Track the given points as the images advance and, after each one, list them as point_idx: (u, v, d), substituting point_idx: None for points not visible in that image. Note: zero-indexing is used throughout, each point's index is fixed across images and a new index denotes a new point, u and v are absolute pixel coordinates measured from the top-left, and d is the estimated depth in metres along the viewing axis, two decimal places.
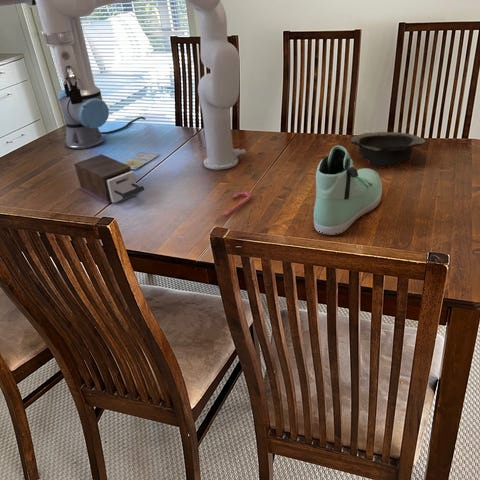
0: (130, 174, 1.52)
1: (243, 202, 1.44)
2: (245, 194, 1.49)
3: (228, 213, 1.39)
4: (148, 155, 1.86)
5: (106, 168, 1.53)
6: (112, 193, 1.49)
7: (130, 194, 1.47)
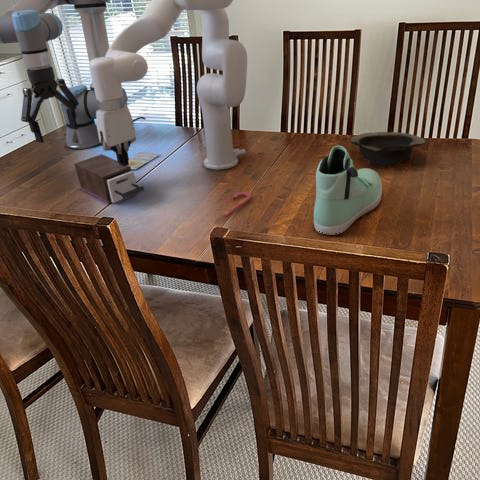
0: (130, 174, 1.52)
1: (243, 202, 1.44)
2: (245, 194, 1.49)
3: (228, 213, 1.39)
4: (148, 155, 1.86)
5: (106, 168, 1.53)
6: (112, 193, 1.49)
7: (130, 194, 1.47)
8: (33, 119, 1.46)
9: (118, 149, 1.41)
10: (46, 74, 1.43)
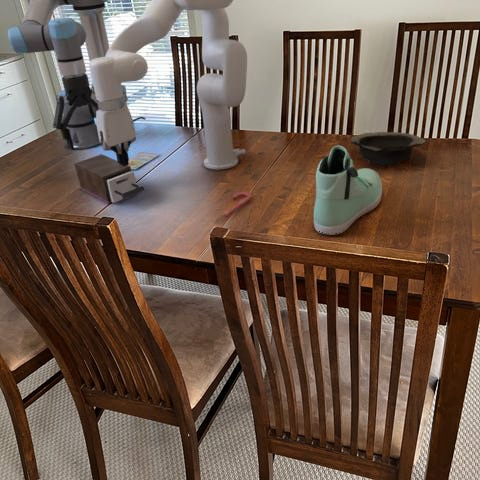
0: (130, 174, 1.52)
1: (243, 202, 1.44)
2: (245, 194, 1.49)
3: (228, 213, 1.39)
4: (148, 155, 1.86)
5: (106, 168, 1.53)
6: (112, 193, 1.49)
7: (130, 194, 1.47)
8: (64, 126, 1.46)
9: (118, 149, 1.41)
10: (78, 83, 1.43)
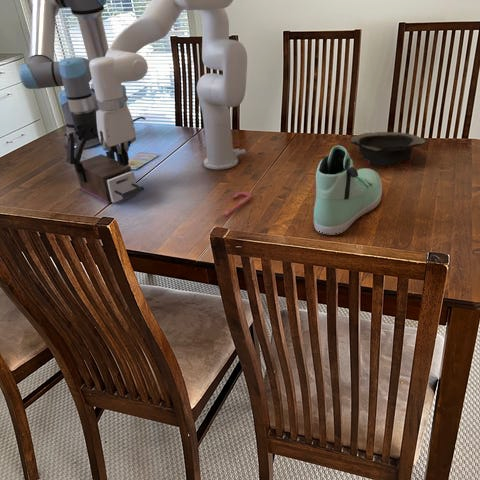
0: (130, 174, 1.52)
1: (243, 202, 1.44)
2: (245, 194, 1.49)
3: (228, 213, 1.39)
4: (148, 155, 1.86)
5: (106, 168, 1.53)
6: (112, 193, 1.49)
7: (130, 194, 1.47)
8: (77, 161, 1.53)
9: (118, 149, 1.41)
10: (87, 119, 1.48)
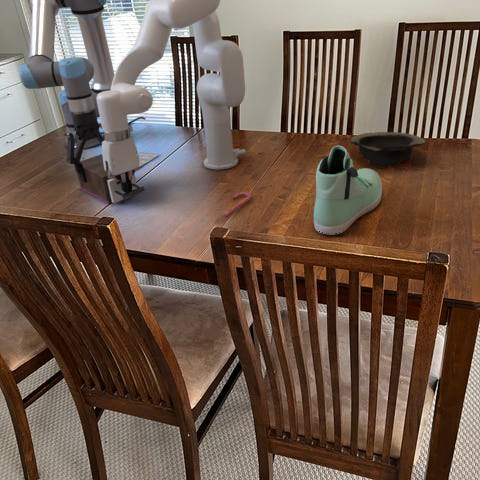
0: None
1: (243, 202, 1.44)
2: (245, 194, 1.49)
3: (228, 213, 1.39)
4: (148, 155, 1.86)
5: None
6: (112, 193, 1.49)
7: (130, 194, 1.47)
8: (77, 161, 1.53)
9: (122, 178, 1.45)
10: (87, 119, 1.48)
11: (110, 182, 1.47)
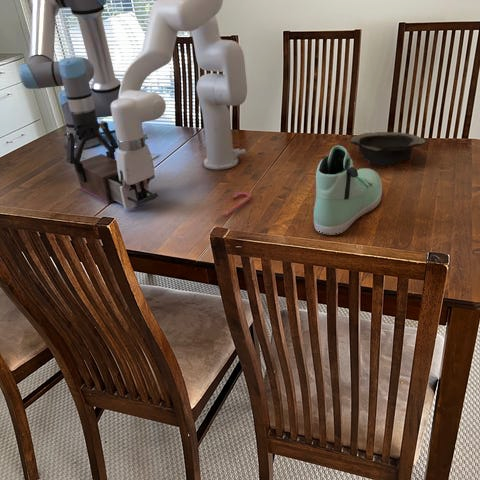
0: None
1: (243, 202, 1.44)
2: (245, 194, 1.49)
3: (228, 213, 1.39)
4: None
5: (106, 168, 1.53)
6: (125, 200, 1.45)
7: (144, 201, 1.42)
8: (77, 161, 1.53)
9: (137, 187, 1.41)
10: (87, 118, 1.48)
11: (123, 188, 1.43)
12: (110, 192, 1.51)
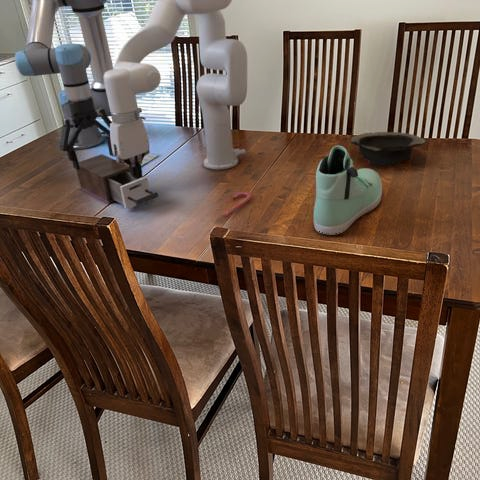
0: (143, 180, 1.47)
1: (243, 202, 1.44)
2: (245, 194, 1.49)
3: (228, 213, 1.39)
4: (148, 155, 1.86)
5: (107, 168, 1.53)
6: (125, 200, 1.45)
7: (144, 201, 1.42)
8: (70, 148, 1.50)
9: (132, 162, 1.38)
10: (84, 106, 1.46)
11: (123, 188, 1.43)
12: (110, 192, 1.51)
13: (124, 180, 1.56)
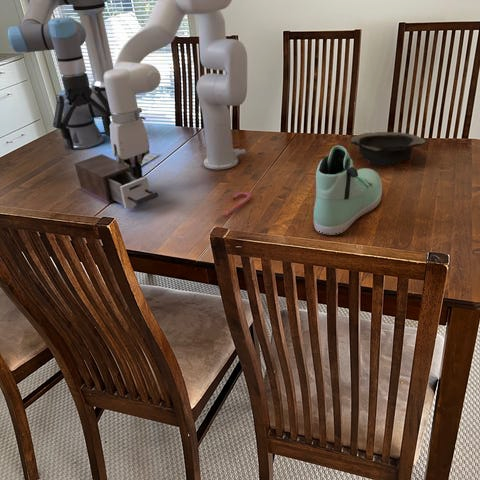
0: (143, 180, 1.47)
1: (243, 202, 1.44)
2: (245, 194, 1.49)
3: (228, 213, 1.39)
4: (148, 155, 1.86)
5: (107, 168, 1.53)
6: (125, 200, 1.45)
7: (144, 201, 1.42)
8: (64, 126, 1.46)
9: (132, 162, 1.38)
10: (78, 82, 1.42)
11: (123, 188, 1.43)
12: (110, 192, 1.51)
13: (124, 180, 1.56)
